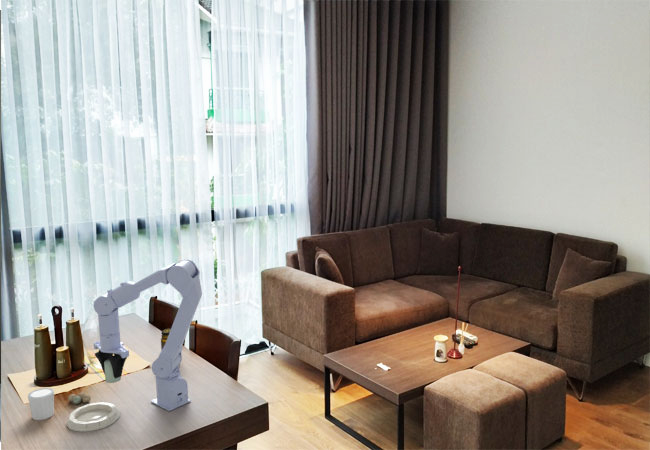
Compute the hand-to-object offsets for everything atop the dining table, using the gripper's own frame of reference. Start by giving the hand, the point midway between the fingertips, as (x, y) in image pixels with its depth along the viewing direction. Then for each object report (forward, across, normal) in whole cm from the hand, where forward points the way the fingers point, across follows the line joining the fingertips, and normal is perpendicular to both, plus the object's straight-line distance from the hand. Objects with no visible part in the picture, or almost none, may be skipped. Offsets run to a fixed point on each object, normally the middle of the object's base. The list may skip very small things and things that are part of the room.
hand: (112, 375), depth 170 cm
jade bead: (+2, 0, 0) cm, 2 cm away
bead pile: (+8, +8, +6) cm, 13 cm away
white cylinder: (+8, +10, +17) cm, 21 cm away
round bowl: (+8, -5, +11) cm, 14 cm away
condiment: (+8, +9, -29) cm, 32 cm away
